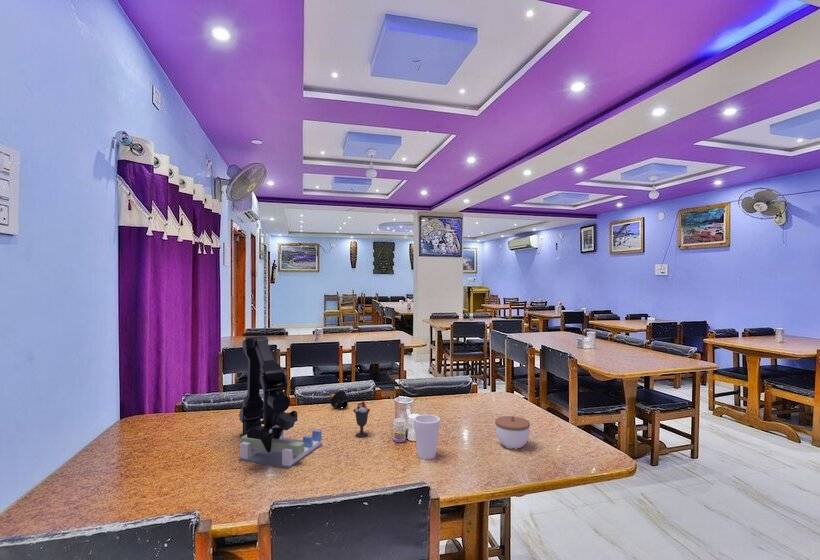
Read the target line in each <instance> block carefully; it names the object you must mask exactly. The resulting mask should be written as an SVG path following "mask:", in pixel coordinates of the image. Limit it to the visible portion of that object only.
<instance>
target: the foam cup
mask: <svg viewBox="0 0 820 560" xmlns="http://www.w3.org/2000/svg"><path fill="white" fill-rule="evenodd" d="M440 427H441V418H440V417H439V416H437V415H435V414H418V415H416V416H414V417H413V428H414V435H415V437H414V438H415V445H416V452H417V457H418V458H419V459H421V460H433V459H435V458H436V455H437V449H438V448H437V447H438V441H439V439H438V438H439V431H440Z"/></svg>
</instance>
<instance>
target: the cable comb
mask: <svg viewBox="0 0 820 560" xmlns="http://www.w3.org/2000/svg"><path fill="white" fill-rule="evenodd" d="M322 432H323V431H322V430H320V429H313V430H312V431H311V433H312V434H311V435H307V434H306V435H303V436H302V439H296V438H291V437H290V438H289V437H284V430H283V431H282V433H281V436H280V439H282V440H288V441H295V442H302V443H304V452H303V453H302V454H300V455H294V454H293V449H287V448H285V449H283V450H282V452H276V451H270V452H267V451H266V450H263V449H257V448H251V443H248V442H242V443H241V442H240V446H239V448H240V455H239V456H240V457H239V458H238V461H242V462H246V463H247V462H248V463H254V464H258V465H259V464H260V465H265V466H271V467H277V468H282V469H287V470H288V469H291V468H292V467H293V466H295V465H296V464H297V463H299V462H300V461H302V460H303V459H305V458H306V457H307V456H308V455H310V454H312V453H313V452H314V451H316V450H317V449H318V448H320V447H321V446H322V445H323V442H322V440H323V439H322V437H323V435H322Z"/></svg>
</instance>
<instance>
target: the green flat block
mask: <svg viewBox="0 0 820 560" xmlns="http://www.w3.org/2000/svg"><path fill="white" fill-rule="evenodd" d="M242 442H248V443H251V448H257V449H263V450H266V449H265V447H264V445H263V443H262V441H261V440H260V439H253V438H247V434H246V435H244V436H242V437H241V436H240V444H241V443H242ZM285 448H287V449H293V454H294V455H300V454H302V453H303V452H304V443H302V442H295V441H288V440H282V439H275V438H272V442H271V451H276V452H282V450H283V449H285Z"/></svg>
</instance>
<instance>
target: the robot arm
mask: <svg viewBox="0 0 820 560" xmlns="http://www.w3.org/2000/svg"><path fill="white" fill-rule="evenodd" d="M242 349H243V353H244V354H245V356H246V358H247V389H246V390H247V391H246V392H247V393H246V395H245V396H246V397H244V399H243V400H242V406H241V408H240V411H239V414H238V416H239V421H240V422H241V423H242V433H240V434H239V437H240V438H241V437H242V436H244V435H246V434H247V438H253V439H260V440H261V441H262V443H263V445H264V447H265V449H266V451H267V452H270V451H271V442H272V438H275V439H280V436H281V433H282V431H283V432H284V431H289V430H290V429H291V428H293V427H294V426H295V422H298V412H297V410H292V411H290V412H289V411H288V412H286V411H287V410H288V409H289V408H290V406H291V400H290V397H289V396H287V395H286V394H285V391H284V390H287V389H288V384H289V383H288V380H287V376H286V373H285V371H284V370H283V368H282V367H281V365H280V364H279V363H277V362H276V361H275V359H274V357H273V354H272V351H271V349H270V346H269V339H268V336H262V335H259V336H249V337H248V336H247V337H245V339H243V340H242ZM260 386H261V387H260ZM260 388H262V389H261V390H262V391H263V395H262V396H263V397H261V395H260V391H261V390H260ZM262 398H263V399H262Z"/></svg>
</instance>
